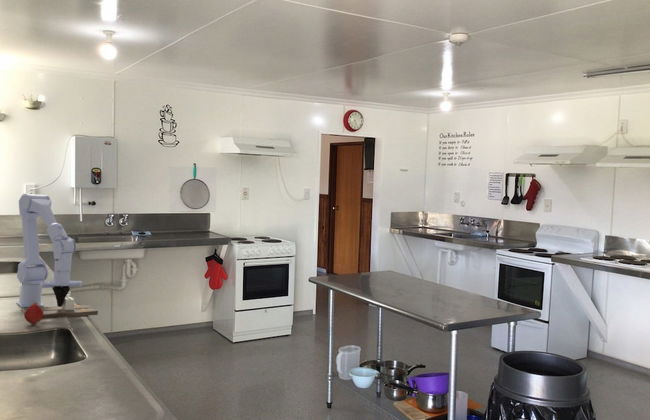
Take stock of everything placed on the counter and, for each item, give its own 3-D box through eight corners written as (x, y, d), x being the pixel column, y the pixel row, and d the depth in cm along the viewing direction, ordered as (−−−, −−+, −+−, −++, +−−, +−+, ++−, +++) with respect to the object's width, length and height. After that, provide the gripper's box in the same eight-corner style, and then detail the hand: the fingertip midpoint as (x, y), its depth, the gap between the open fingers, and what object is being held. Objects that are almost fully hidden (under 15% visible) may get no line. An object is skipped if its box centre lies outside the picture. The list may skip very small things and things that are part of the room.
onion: (21, 326, 191) (23, 303, 190) (26, 322, 196) (27, 300, 196) (40, 327, 192) (42, 304, 192) (44, 323, 198) (45, 300, 198)
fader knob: (61, 307, 216) (62, 296, 215) (69, 307, 218) (70, 296, 217) (65, 310, 212) (66, 299, 212) (73, 309, 214) (74, 299, 213)
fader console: (30, 311, 212) (30, 307, 212) (87, 308, 225) (87, 304, 225) (38, 318, 203) (38, 314, 202) (97, 314, 216) (97, 310, 216)
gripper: (44, 272, 204) (41, 309, 205) (85, 271, 214) (82, 307, 214) (39, 269, 210) (36, 305, 210) (79, 268, 219) (77, 303, 220)
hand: (59, 306), depth 213 cm, fingers closed
